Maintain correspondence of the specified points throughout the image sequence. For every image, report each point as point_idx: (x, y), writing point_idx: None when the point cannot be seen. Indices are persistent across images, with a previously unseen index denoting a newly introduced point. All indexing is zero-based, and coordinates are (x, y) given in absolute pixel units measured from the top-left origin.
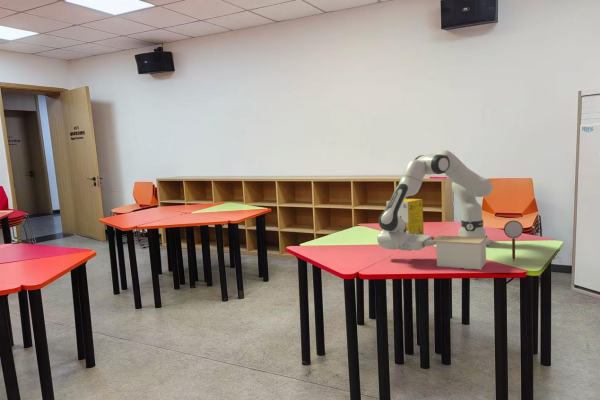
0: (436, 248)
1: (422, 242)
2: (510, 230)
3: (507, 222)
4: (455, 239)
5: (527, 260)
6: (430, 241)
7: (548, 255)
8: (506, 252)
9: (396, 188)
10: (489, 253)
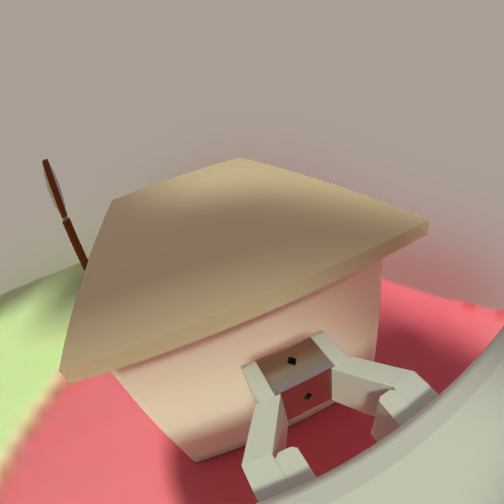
0: (380, 276)
1: (494, 338)
2: (60, 189)
3: (46, 165)
4: (217, 199)
5: None
6: (279, 425)
7: (37, 280)
8: (6, 339)
9: None
10: (13, 366)
